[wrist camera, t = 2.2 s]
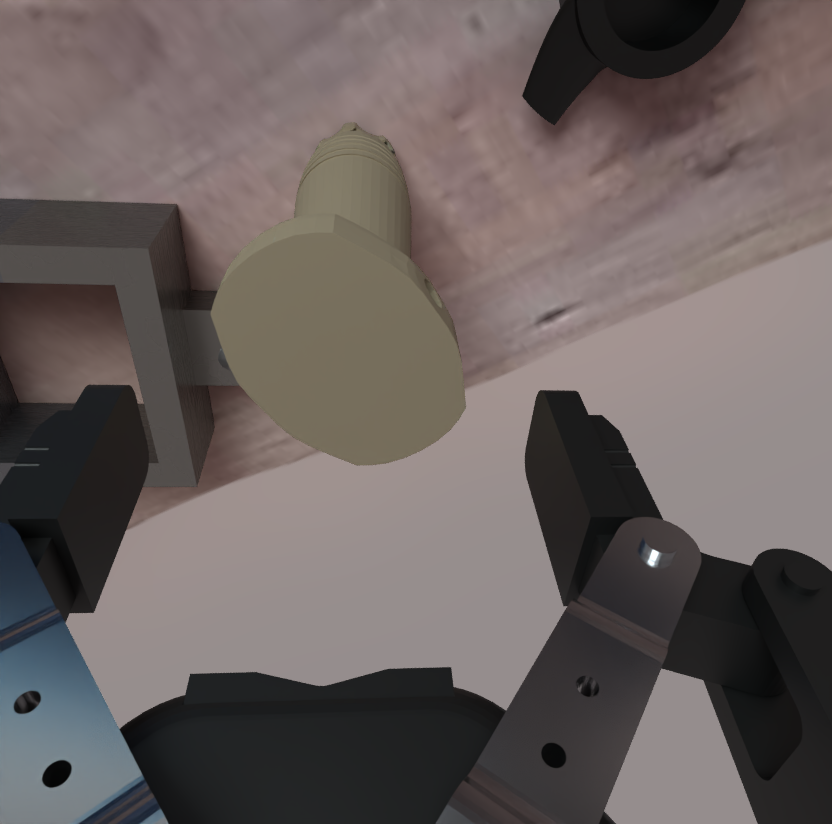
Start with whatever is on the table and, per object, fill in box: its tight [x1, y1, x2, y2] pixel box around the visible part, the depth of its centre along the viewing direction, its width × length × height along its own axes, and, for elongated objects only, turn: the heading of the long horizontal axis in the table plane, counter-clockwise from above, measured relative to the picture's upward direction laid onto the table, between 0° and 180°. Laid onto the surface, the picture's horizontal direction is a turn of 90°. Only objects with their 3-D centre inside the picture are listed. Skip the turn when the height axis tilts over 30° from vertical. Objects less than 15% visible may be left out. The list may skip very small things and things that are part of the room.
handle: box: [211, 123, 466, 465], centre depth 21 cm, size 5×6×15 cm
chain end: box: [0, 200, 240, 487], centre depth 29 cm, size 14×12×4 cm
